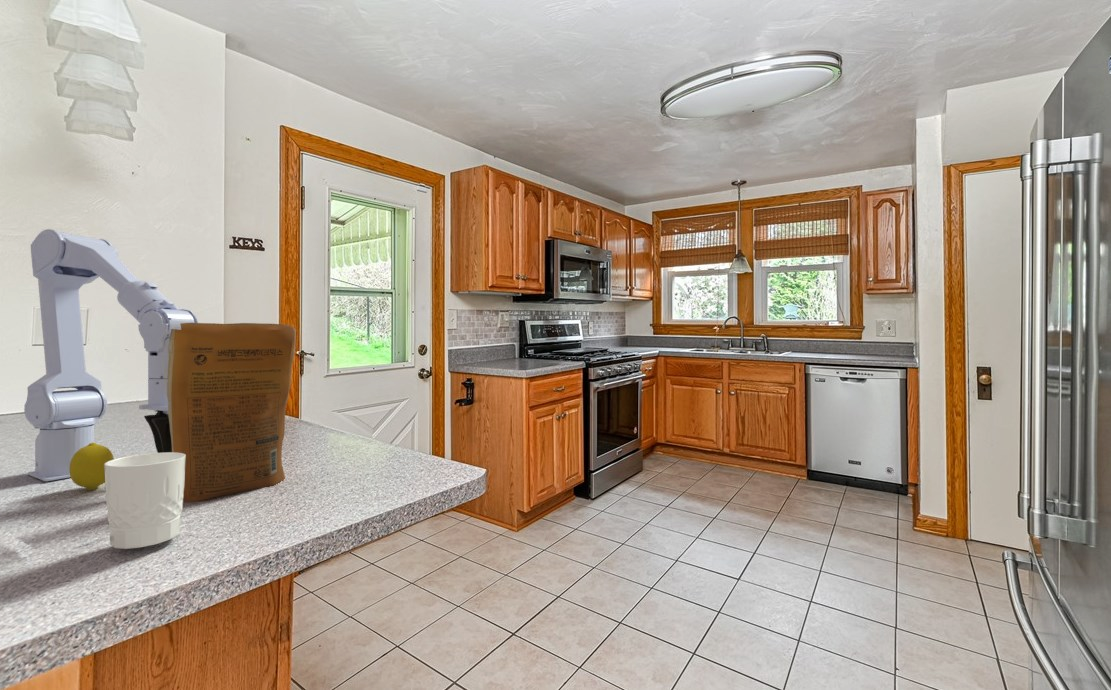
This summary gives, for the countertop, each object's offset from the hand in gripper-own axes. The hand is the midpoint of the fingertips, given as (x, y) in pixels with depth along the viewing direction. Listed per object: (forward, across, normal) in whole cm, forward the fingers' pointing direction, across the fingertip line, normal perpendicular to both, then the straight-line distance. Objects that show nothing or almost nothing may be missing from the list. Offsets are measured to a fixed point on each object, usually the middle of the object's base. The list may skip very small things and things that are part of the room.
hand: (169, 456), depth 87 cm
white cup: (+5, +28, -7) cm, 30 cm away
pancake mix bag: (+5, +14, +6) cm, 16 cm away
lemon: (+5, -5, -9) cm, 12 cm away
